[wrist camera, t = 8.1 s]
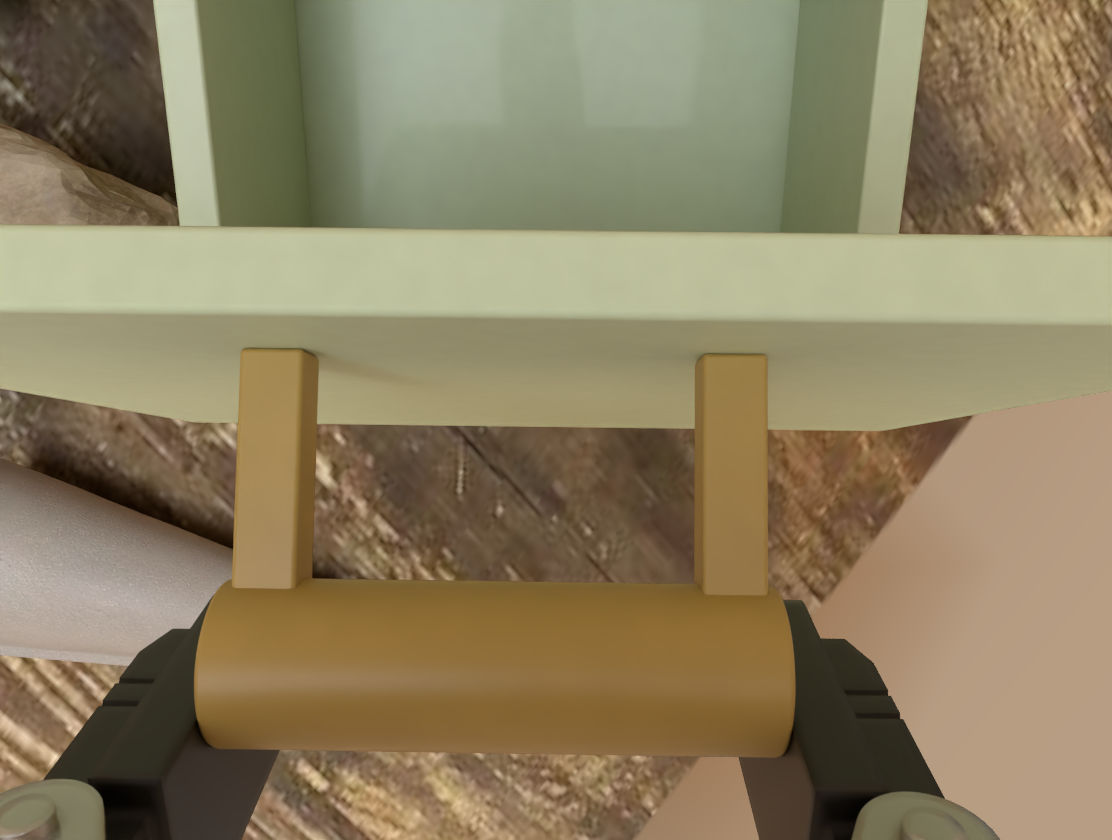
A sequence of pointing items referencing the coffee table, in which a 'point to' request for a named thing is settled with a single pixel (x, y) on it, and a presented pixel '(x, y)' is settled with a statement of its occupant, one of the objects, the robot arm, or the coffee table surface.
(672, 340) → the lid
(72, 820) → the robot arm
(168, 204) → the sculpture
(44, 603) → the grey curved piece
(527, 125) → the chest
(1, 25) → the coffee table surface
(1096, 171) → the coffee table surface
